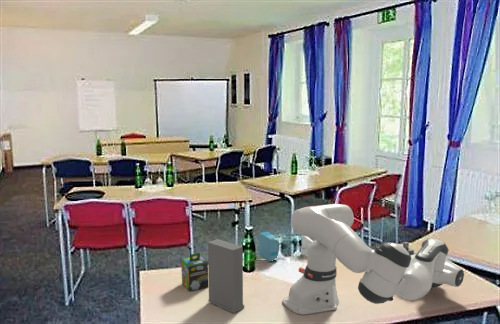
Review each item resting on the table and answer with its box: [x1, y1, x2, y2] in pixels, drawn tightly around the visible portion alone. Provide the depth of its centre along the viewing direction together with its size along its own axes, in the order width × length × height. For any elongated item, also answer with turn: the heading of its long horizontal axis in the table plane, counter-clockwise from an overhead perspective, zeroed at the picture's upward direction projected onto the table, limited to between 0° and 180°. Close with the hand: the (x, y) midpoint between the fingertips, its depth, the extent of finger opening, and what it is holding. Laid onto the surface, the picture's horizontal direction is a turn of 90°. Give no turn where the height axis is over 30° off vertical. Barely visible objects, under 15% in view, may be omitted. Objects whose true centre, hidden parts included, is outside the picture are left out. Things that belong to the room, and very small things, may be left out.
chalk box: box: [180, 252, 209, 292], centre depth 201 cm, size 9×9×15 cm
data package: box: [258, 231, 279, 262], centre depth 233 cm, size 12×4×12 cm, turn 27°
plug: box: [402, 241, 415, 255], centre depth 211 cm, size 5×5×13 cm
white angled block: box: [300, 235, 314, 257], centre depth 238 cm, size 4×10×9 cm
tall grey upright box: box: [207, 238, 245, 314], centre depth 182 cm, size 14×6×25 cm, turn 48°
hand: (403, 254), depth 211 cm, fingers closed on plug, 5 cm apart
